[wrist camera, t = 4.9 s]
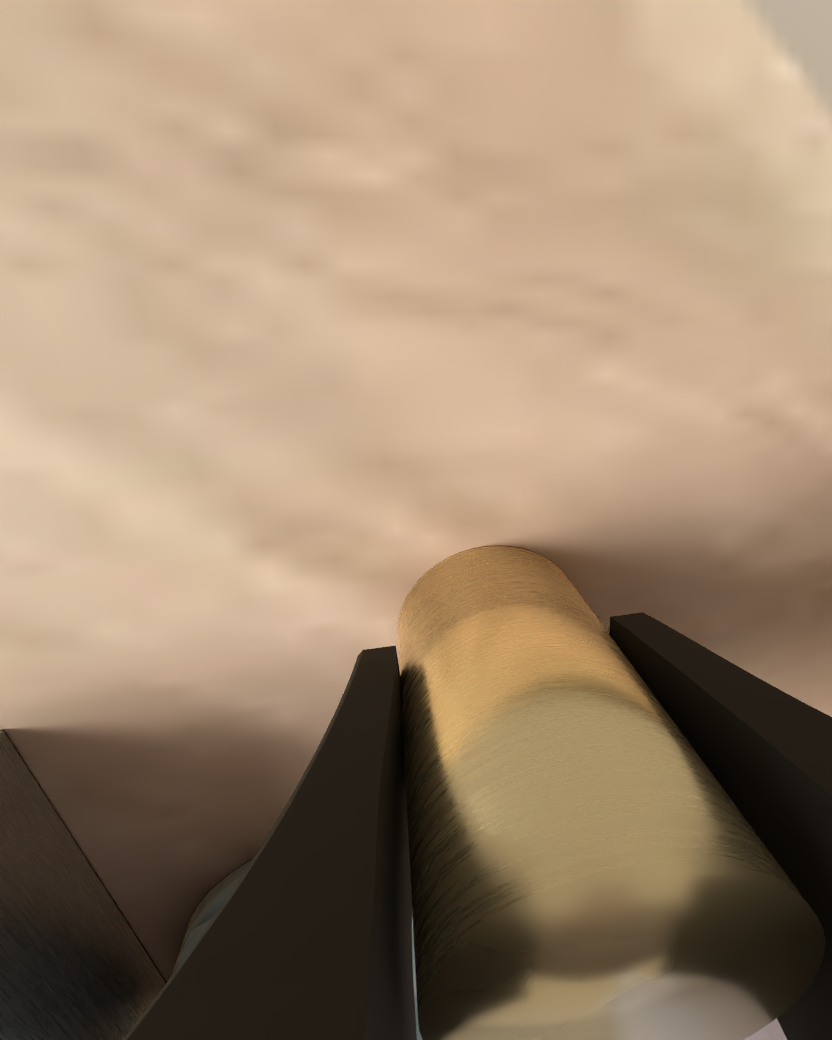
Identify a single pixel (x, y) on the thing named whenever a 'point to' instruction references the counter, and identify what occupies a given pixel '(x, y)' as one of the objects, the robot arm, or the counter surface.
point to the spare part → (573, 832)
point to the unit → (60, 928)
